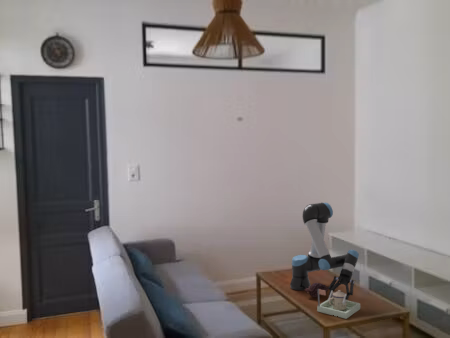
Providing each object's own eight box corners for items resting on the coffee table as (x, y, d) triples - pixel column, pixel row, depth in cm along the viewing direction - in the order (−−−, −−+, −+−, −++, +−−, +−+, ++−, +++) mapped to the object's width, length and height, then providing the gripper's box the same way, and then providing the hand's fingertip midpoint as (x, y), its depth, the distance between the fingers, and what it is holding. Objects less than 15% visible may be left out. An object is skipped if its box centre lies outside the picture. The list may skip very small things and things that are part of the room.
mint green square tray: (317, 311, 282) (316, 289, 281) (332, 302, 297) (331, 281, 296) (346, 318, 269) (345, 295, 268) (360, 308, 284) (359, 286, 283)
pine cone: (326, 293, 314) (325, 279, 314) (332, 297, 305) (331, 283, 304) (302, 295, 311) (302, 281, 310) (308, 300, 301) (307, 286, 301)
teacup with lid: (342, 304, 289) (342, 287, 288) (349, 309, 281) (349, 291, 280) (325, 306, 286) (325, 289, 285) (332, 312, 278) (332, 294, 277)
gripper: (364, 277, 286) (354, 308, 275) (334, 271, 300) (323, 301, 290) (361, 271, 282) (350, 303, 271) (330, 265, 296) (319, 295, 285)
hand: (336, 302), depth 280 cm, fingers open, 9 cm apart
